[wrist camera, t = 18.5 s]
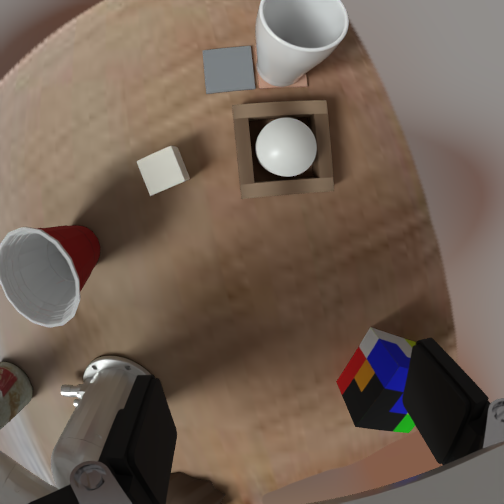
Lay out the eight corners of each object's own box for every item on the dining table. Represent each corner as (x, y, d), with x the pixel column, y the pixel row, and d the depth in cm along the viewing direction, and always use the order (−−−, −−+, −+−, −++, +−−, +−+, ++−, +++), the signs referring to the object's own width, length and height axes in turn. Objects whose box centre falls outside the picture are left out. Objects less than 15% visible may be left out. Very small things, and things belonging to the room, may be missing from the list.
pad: (259, 88, 33) (259, 88, 33) (254, 46, 32) (254, 45, 32) (307, 86, 34) (307, 86, 33) (301, 45, 32) (301, 44, 32)
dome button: (257, 177, 36) (259, 179, 32) (252, 124, 34) (254, 119, 30) (310, 173, 36) (319, 174, 32) (305, 121, 34) (313, 116, 30)
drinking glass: (305, 98, 34) (348, 61, 19) (246, 90, 33) (253, 44, 19) (310, 46, 32) (351, -11, 17) (252, 38, 31) (262, -28, 17)
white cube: (159, 192, 36) (150, 196, 32) (146, 161, 35) (136, 161, 31) (190, 178, 36) (184, 181, 32) (177, 147, 35) (170, 145, 31)
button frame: (241, 196, 37) (241, 198, 34) (232, 109, 34) (232, 105, 31) (326, 188, 37) (334, 191, 34) (319, 104, 34) (326, 100, 31)
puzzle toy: (370, 326, 42) (399, 366, 33) (418, 342, 44) (450, 379, 34) (336, 381, 45) (355, 426, 35) (385, 392, 46) (408, 432, 37)
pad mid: (206, 94, 33) (206, 93, 33) (202, 51, 32) (202, 50, 32) (255, 89, 33) (255, 88, 33) (250, 46, 32) (250, 45, 32)
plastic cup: (56, 288, 39) (9, 327, 27) (43, 210, 36) (-14, 230, 24) (124, 288, 39) (88, 334, 28) (114, 204, 36) (67, 223, 25)
